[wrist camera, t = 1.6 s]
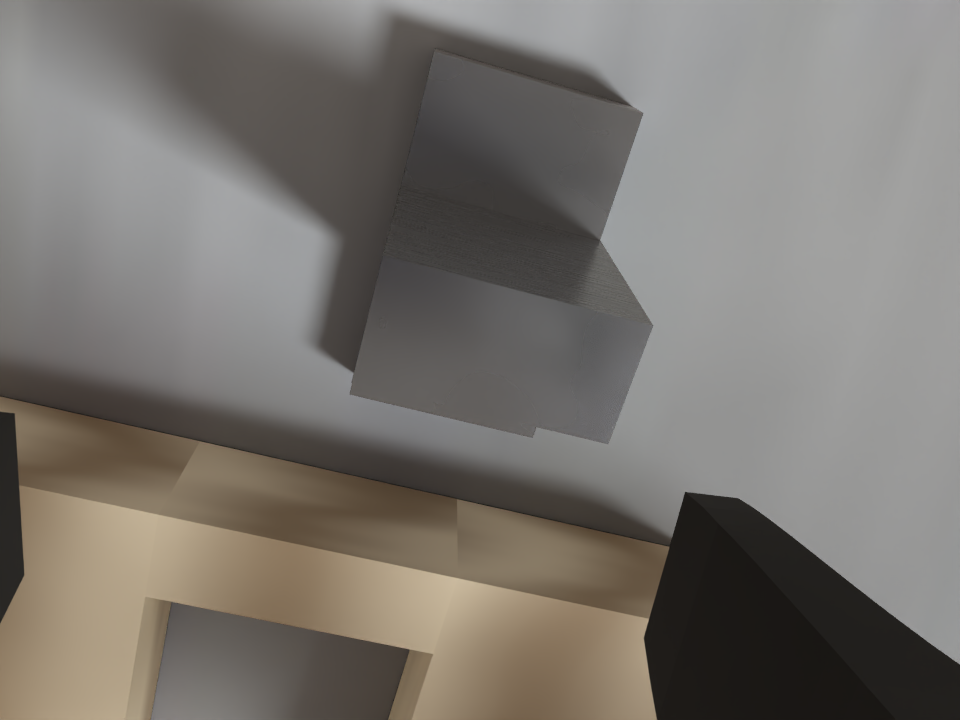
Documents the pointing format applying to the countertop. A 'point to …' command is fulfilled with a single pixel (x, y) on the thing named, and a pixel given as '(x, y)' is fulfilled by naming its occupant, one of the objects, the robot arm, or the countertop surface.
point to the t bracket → (506, 260)
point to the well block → (306, 579)
